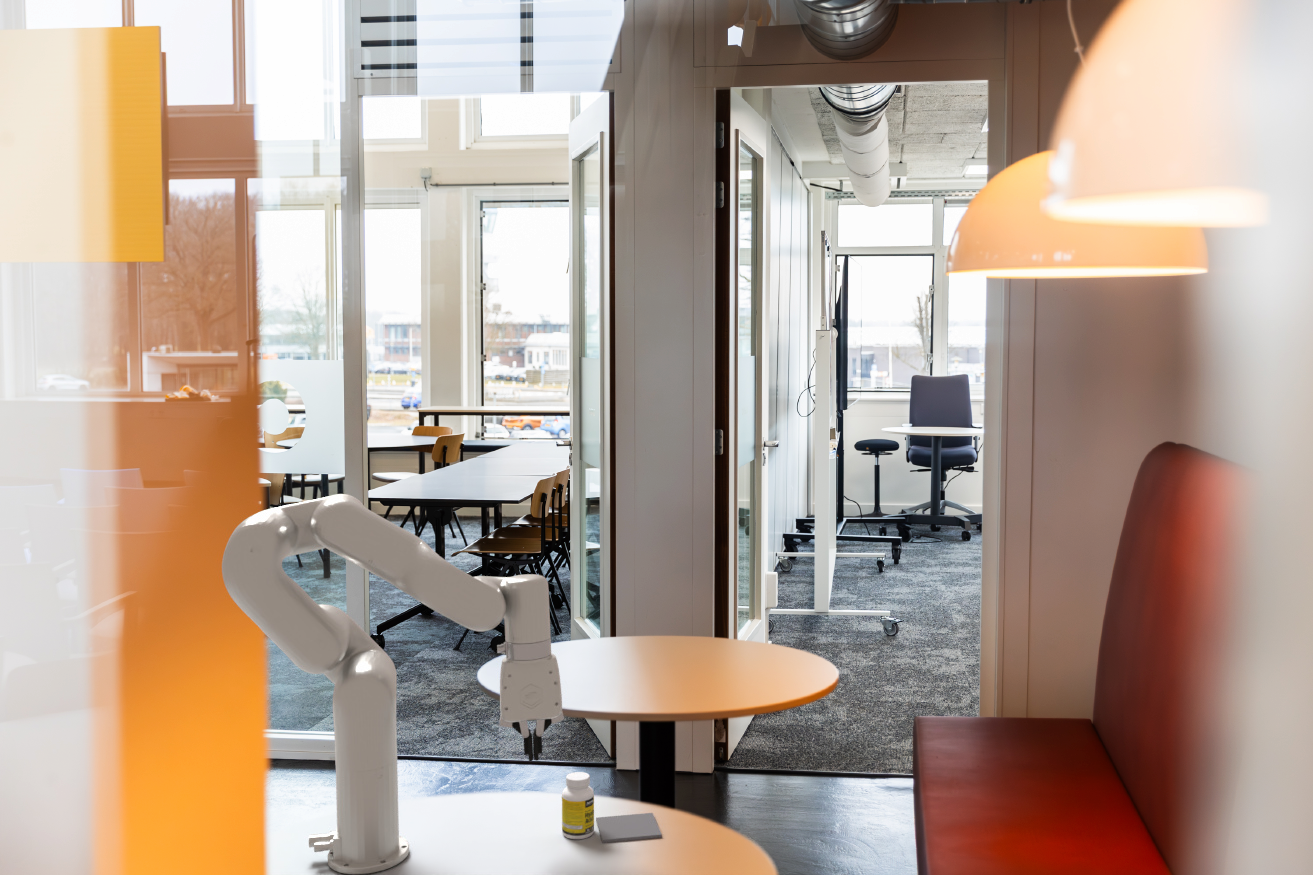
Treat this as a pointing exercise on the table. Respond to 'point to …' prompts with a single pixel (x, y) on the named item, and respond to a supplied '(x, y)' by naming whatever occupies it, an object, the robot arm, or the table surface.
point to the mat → (628, 827)
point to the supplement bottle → (577, 806)
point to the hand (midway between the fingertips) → (533, 757)
